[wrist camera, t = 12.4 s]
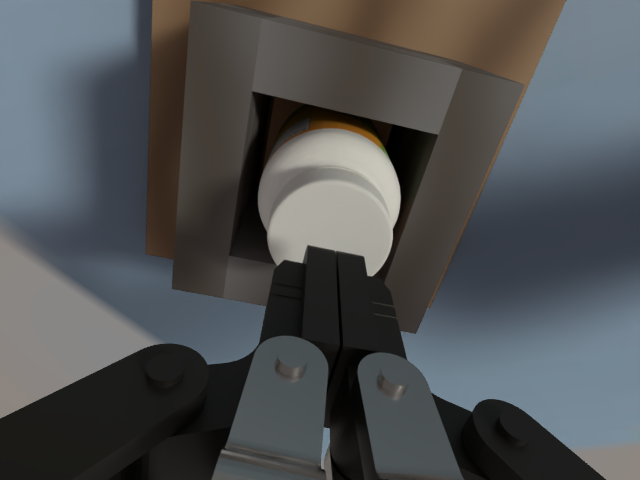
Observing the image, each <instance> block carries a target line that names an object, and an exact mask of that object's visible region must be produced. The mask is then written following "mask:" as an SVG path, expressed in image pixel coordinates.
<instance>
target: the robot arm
mask: <svg viewBox="0 0 640 480" xmlns="http://www.w3.org/2000/svg"><path fill="white" fill-rule="evenodd" d="M393 306H394V304H393V300H392V296H391V291H390V290H389V289H388V288H387V286H386V285H385V284H384V283H383V281H382V280H381V279H380V278H377V277H372V276H367V270H366V264H365V258H364V256H361V255H356V254H351V253H346V252H341V251H336V252H335V250H331V249H326V248H321V247H316V246H311V245H307V247H306V251H305V255H304V259H303V263H299V262H294V261H289V260H283V261H282V262H281V263H280V264H279V265H278V266H277V267H276V268H275V269H274V272H273V277H272V282H271V287H270V291H269V296H268V301H267V306H266V311H265V316H264V321H263V326H262V331H261V337H260V342H259V344H258V346H257V347H256V349H255V350H254V351H253V352H252V353H250V354H249V355H247V356H246V357H244V358H242V359H240V360H237V361H233V362H229V363H222V364H211V365H207V363H206V361H205V360H204V358H203V357H202V356H201V355H200V354H199V353H198V352H196V351H195V350H193V349H191V348H189V347H186V346H183V345H178V344H158V345H153V346H150V347H147V348H144V349H142V350H140V351H138V352H136V353H133V354H131V355H129V356H127V357H125V358H123V359H121V360H119V361H117V362H115V363H113V364H111V365H109V366H107V367H105V368H103V369H101V370H99V371H97V372H95V373H93V374H91V375H89V376H86V377H85V378H82V379H80V380H78V381H76V382H74V383H72V384H70V385H68V386H66V387H64V388H62V389H60V390H58V391H56V392H54V393H52V394H50V395H48V396H46V397H44V398H42V399H39V400H38V401H35V402H33V403H31V404H29V405H27V406H25V407H23V408H21V409H19V410H17V411H15V412H13V413H11V414H9V415H7V416H5V417H3V418H1V419H0V480H606V479H604V478H603V477H602V476H601V475H600V474H599V473H597V472H596V471H595V470H594V469H593V468H591V467H590V466H589V465H587V463H585V462H584V461H583V460H582V459H581V458H580V457H578V456H577V455H576V454H575V453H574V452H572V451H571V450H570V449H569V448H568V447H566V446H565V445H564V444H563V443H562V442H560V441H559V440H558V439H557V438H556V437H554V436H553V435H552V434H551V433H550V432H548V431H547V430H546V429H545V428H544V427H542V426H541V425H540V424H539V423H538V422H537V421H535V420H534V419H533V418H532V417H531V416H529V415H528V414H527V413H525V412H524V411H523V410H521V409H519V408H518V407H516V406H514V405H512V404H510V403H507V402H505V401H501V400H495V399H487V400H483V401H481V402H479V403H478V404H477V405H476V406H475V408H474V410H473V411H472V412H471V411H468V410H466V409H464V408H462V407H459V406H457V405H455V404H452V403H450V402H448V401H446V400H443V399H441V398H439V397H437V396H436V395H434V394H433V393H431V391H430V388H429V385H428V383H427V381H426V379H425V377H424V376H423V374H422V373H421V372H420V371H419V369H418V368H417V367H415V366H414V365H413V364H412V363H410V362H409V361H407V357H406V353H405V349H404V345H403V341H402V337H401V333H400V328H399V324H398V320H397V319H396V317H397V316H396V312H395V308H393ZM324 427H325V428H330V444H329V447H328V449H327V452H326V455H325V459H324V469H321V453H322V441H323V429H324Z"/></svg>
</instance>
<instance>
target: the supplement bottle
mask: <svg viewBox="0 0 640 480" xmlns="http://www.w3.org/2000/svg"><path fill="white" fill-rule="evenodd" d="M400 200H401V196H400V186H399V182H398V178H397V175H396V172H395V170H394V167H393V165H392V163H391V161H390V159H389V156H388V154H387V152H386V150H385V147H384V145H383V143H382V140H381V138H380V136H379V133H378V131H377V129H376V127H375V125H374V124H373V122H372V121H371V119H369V118H365V117H361V116H356V115H352V114H348V113H344V112H339V111H335V110H331V109H326V108H322V107H318V106H314V105H309V104H304V105H303V106H301V107H299V108H298V109H297V110H295V111H294V112H293V113H292V114H291V115H290V116H289V117H288V118H287V119H286V121H285V122H284V123H283V125H282V127H281V129H280V130H279V133H278V135H277V138H276V140H275V143H274V145H273V148H272V150H271V153H270V156H269V158H268V161H267V164H266V166H265V168H264V171H263V174H262V177H261V180H260V185H259V190H258V208H259V213H260V217H261V220H262V223H263V225H264V227H265V229H266V231H267V242H268V247H269V251H270V254H271V256H272V258H273V260H274V262H275V263H276V265H277V266H278V265H279V264H280V263H281V262H282V261H283V260H289V261H294V262H299V263H303V259H304V255H305V251H306V247H307V245H311V246H316V247H321V248H326V249H331V250H335V252H336V251H341V252H346V253H351V254H356V255H361V256H364V258H365V264H366V270H367V276H373V275H375V274H376V273H377V272H378V271H379V270H380V268H381V267H382V266H383V264H384V263H385V261H386V259H387V257H388V255H389V252H390V250H391V246H392V240H393V227H394V225H395V223H396V221H397V218H398V215H399V210H400Z"/></svg>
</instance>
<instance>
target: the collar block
mask: <svg viewBox="0 0 640 480" xmlns="http://www.w3.org/2000/svg"><path fill="white" fill-rule="evenodd" d="M565 2H566V0H152V38H151V75H150V112H149V150H148V187H147V224H146V254H148V255H153V256H159V257H164V258H169V259H174V265H173V280H172V289H176V290H181V291H187V292H192V293H198V294H203V295H208V296H214V297H219V298H225V299H230V300H236V301H241V302H247V303H252V304H257V305H263V306H267V301H268V296H269V291H270V287H271V282H272V277H273V272H274V269H275V268H276V267H277V265H276V263H275V262H274V260H273V258H272V256H271V254H270V251H269V247H268V242H267V231H266V229H265V227H264V225H263V223H262V220H261V217H260V213H259V208H258V190H259V185H260V180H261V177H262V171H263V165H264V159H265V153H266V147H267V141H268V135H269V129H270V123H271V117H272V111H273V105H274V99H275V97H280V98H284V99H288V100H292V101H297V102H301V103H305V104H309V105H314V106H318V107H322V108H326V109H331V110H335V111H339V112H344V113H348V114H352V115H356V116H361V117H365V118H369V119H373V120H378V121H382V122H386V123H390V124H393V125H392V128H391V132H390V135H389V138H388V141H387V145H386V148H385V150H386V152H387V154H388V156H389V159H390V161H391V163H392V165H393V167H394V170H395V172H396V175H397V178H398V182H399V186H400V196H401V200H400V210H399V215H398V218H397V221H396V223H395V225H394V227H393V240H392V246H391V250H390V252H389V255H388V257H387V259H386V261H385V263H384V264H383V266H382V267H381V268H380V270H379V271H378V272H377V273H376V274H375V275H373V276H372V277H377V278H380V279H381V280H382V281H383V283H384V284H385V285H386V286H387V288H388V289H389V290H390V291H391V296H392V300H393V304H394V306H393V308H395V312H396V316H397V317H396V319H397V320H398V324H399V328H400V331H404V332H409V333H415V334H416V332H417V330H418V328H419V325H420V323H421V321H422V318H423V316H424V314H425V312H426V309H427V308H430V307H431V304H432V302H433V300H434V298H435V295H436V293H437V291H438V289H439V286H440V284H441V282H442V280H443V277H444V275H445V273H446V271H447V268H448V266H449V264H450V262H451V259H452V257H453V255H454V252H455V250H456V248H457V246H458V243H459V241H460V239H461V237H462V234H463V232H464V230H465V228H466V225H467V223H468V221H469V219H470V216H471V214H472V212H473V210H474V207H475V205H476V203H477V201H478V198H479V196H480V194H481V192H482V189H483V187H484V185H485V182H486V180H487V178H488V176H489V173H490V171H491V169H492V167H493V164H494V162H495V160H496V158H497V155H498V153H499V151H500V149H501V146H502V144H503V142H504V140H505V137H506V135H507V133H508V131H509V128H510V126H511V124H512V121H513V119H514V117H515V115H516V112H517V110H518V108H519V106H520V103H521V101H522V99H523V97H524V94H525V92H526V90H527V88H528V85H529V83H530V81H531V79H532V76H533V74H534V72H535V70H536V67H537V65H538V63H539V61H540V58H541V56H542V54H543V51H544V49H545V47H546V45H547V42H548V40H549V38H550V36H551V33H552V31H553V29H554V27H555V24H556V22H557V20H558V18H559V15H560V13H561V11H562V9H563V6H564V4H565Z"/></svg>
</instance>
